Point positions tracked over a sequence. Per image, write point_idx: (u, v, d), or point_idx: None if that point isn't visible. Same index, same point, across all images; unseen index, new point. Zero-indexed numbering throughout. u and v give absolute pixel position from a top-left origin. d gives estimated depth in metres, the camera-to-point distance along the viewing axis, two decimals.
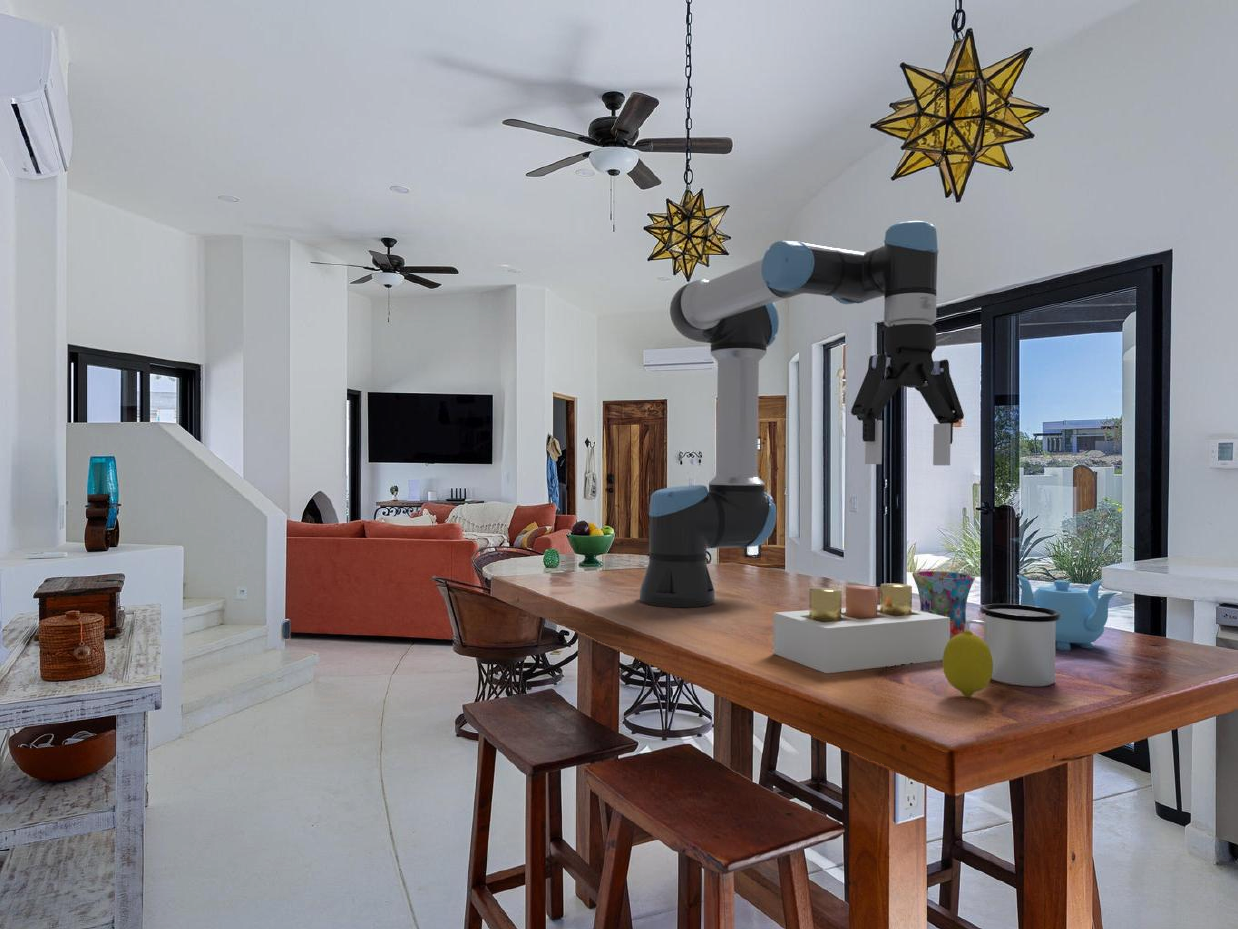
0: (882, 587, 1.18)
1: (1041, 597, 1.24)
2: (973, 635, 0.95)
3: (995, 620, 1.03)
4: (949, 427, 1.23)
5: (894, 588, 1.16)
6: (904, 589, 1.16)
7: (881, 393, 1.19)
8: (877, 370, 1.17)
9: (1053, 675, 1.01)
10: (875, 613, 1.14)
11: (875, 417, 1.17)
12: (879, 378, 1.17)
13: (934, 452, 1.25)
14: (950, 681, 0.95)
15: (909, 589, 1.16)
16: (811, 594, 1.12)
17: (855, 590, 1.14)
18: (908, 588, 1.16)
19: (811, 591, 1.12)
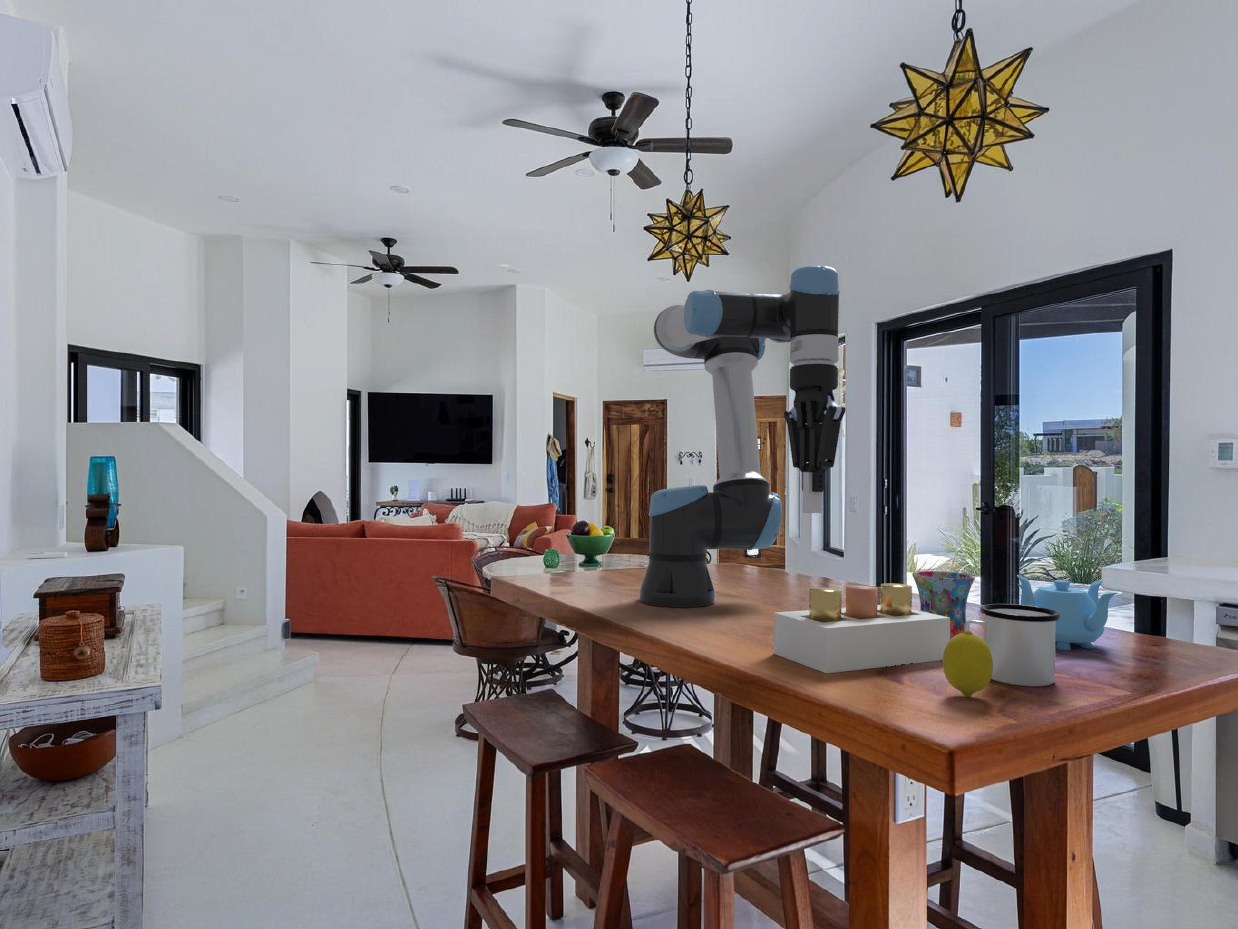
0: (882, 587, 1.18)
1: (1041, 597, 1.24)
2: (973, 635, 0.95)
3: (995, 620, 1.03)
4: (807, 475, 1.25)
5: (894, 588, 1.16)
6: (904, 589, 1.16)
7: None
8: None
9: (1053, 675, 1.01)
10: (875, 613, 1.14)
11: (802, 468, 1.27)
12: (791, 431, 1.30)
13: None
14: (950, 681, 0.95)
15: (909, 589, 1.16)
16: (811, 594, 1.12)
17: (855, 590, 1.14)
18: (908, 588, 1.16)
19: (811, 591, 1.12)
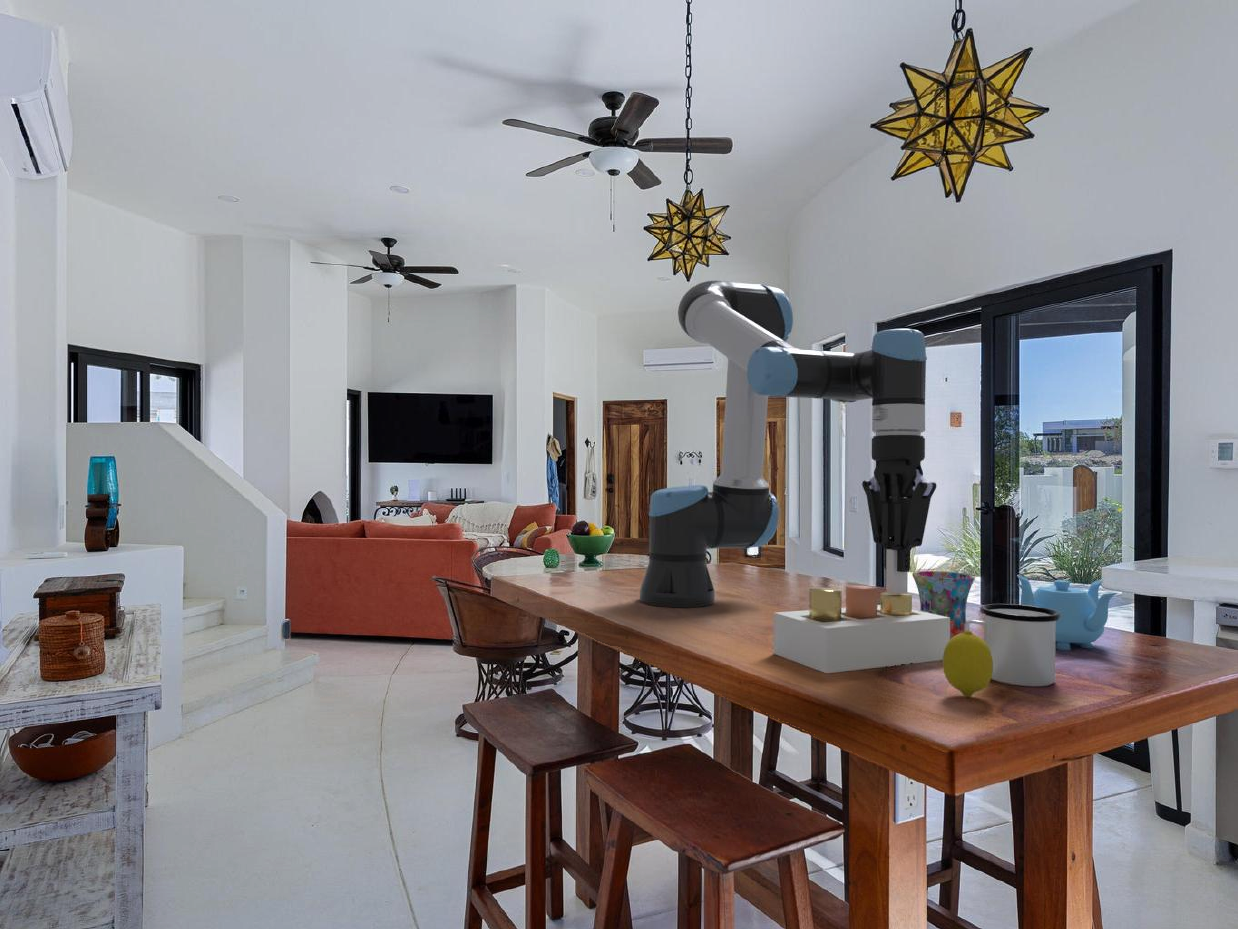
0: (882, 596, 1.17)
1: (1041, 597, 1.24)
2: (973, 635, 0.95)
3: (995, 620, 1.03)
4: (892, 554, 1.17)
5: (894, 597, 1.16)
6: (904, 598, 1.16)
7: None
8: None
9: (1053, 675, 1.01)
10: (875, 613, 1.14)
11: (885, 545, 1.18)
12: (871, 503, 1.21)
13: None
14: (950, 681, 0.95)
15: (909, 598, 1.16)
16: (811, 594, 1.12)
17: (855, 590, 1.14)
18: (908, 597, 1.16)
19: (811, 591, 1.12)
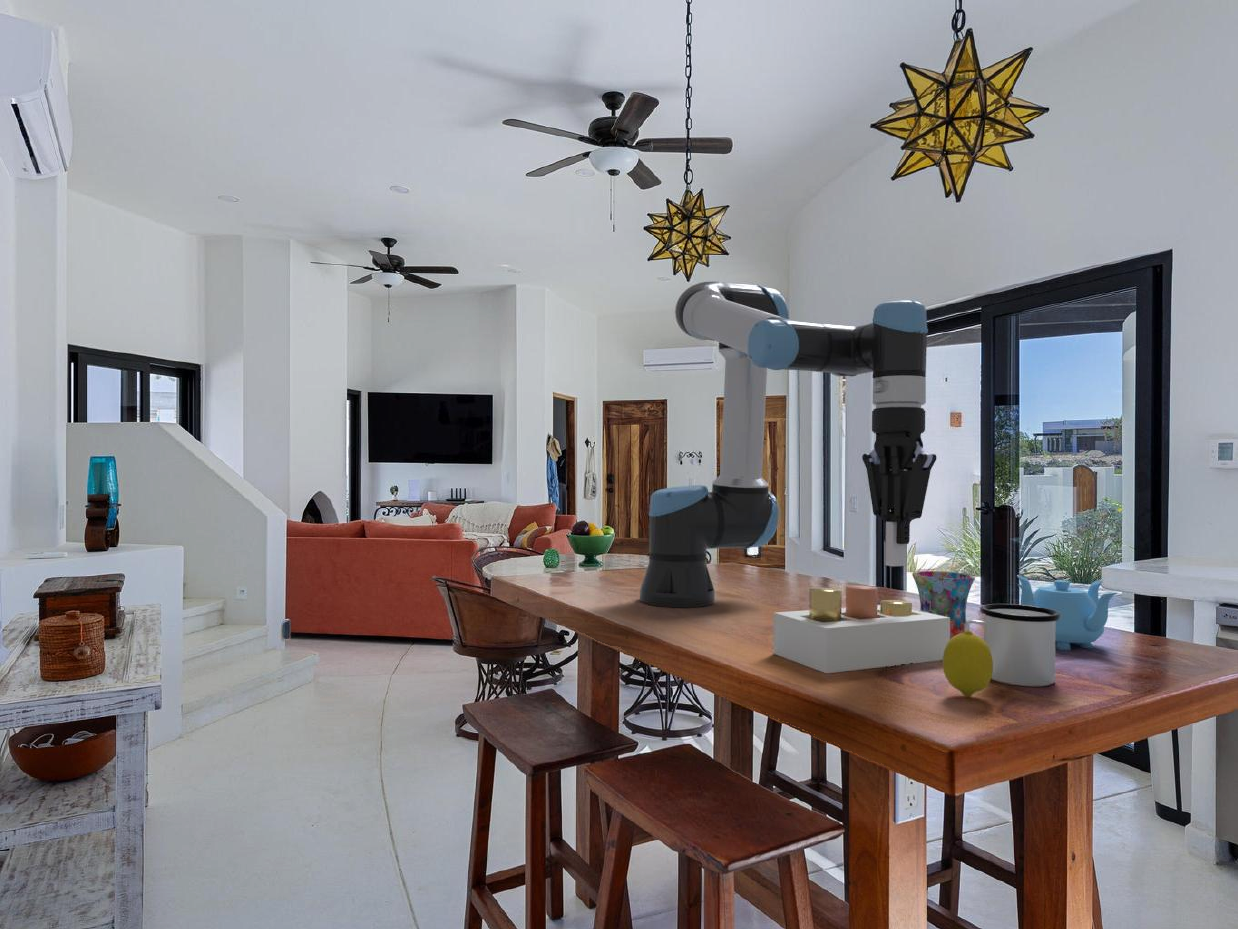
0: (882, 604, 1.17)
1: (1040, 597, 1.24)
2: (973, 635, 0.95)
3: (995, 620, 1.03)
4: (892, 526, 1.17)
5: (894, 605, 1.16)
6: (904, 606, 1.16)
7: None
8: None
9: (1053, 675, 1.01)
10: (875, 613, 1.14)
11: (885, 518, 1.18)
12: (871, 476, 1.21)
13: None
14: (950, 681, 0.95)
15: (909, 606, 1.16)
16: (811, 594, 1.12)
17: (855, 590, 1.14)
18: (908, 605, 1.16)
19: (811, 591, 1.12)
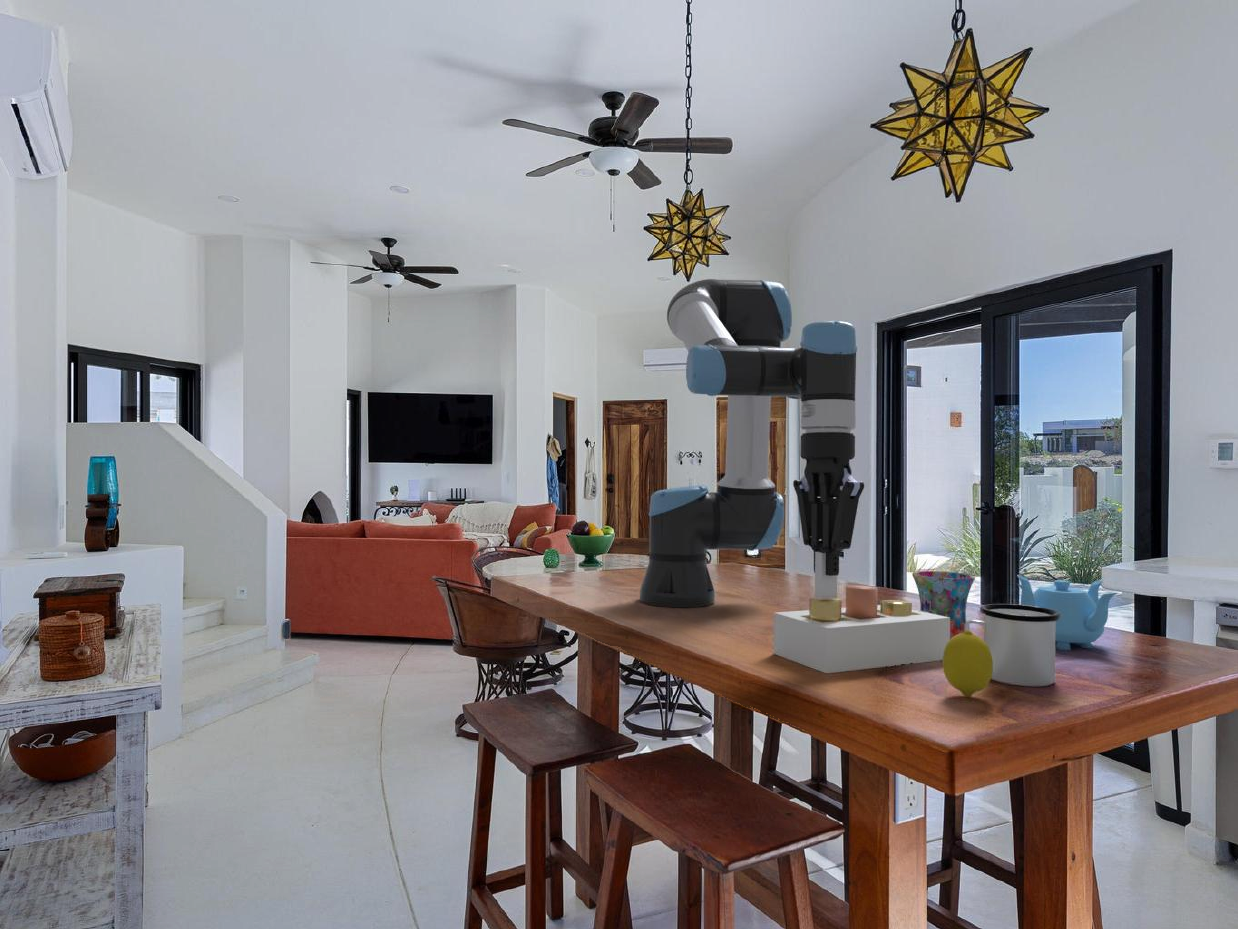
0: (882, 604, 1.17)
1: (1041, 597, 1.24)
2: (973, 635, 0.95)
3: (995, 620, 1.03)
4: (820, 557, 1.11)
5: (894, 605, 1.16)
6: (904, 606, 1.16)
7: None
8: None
9: (1053, 675, 1.01)
10: (875, 613, 1.14)
11: (814, 548, 1.13)
12: (801, 503, 1.16)
13: None
14: (950, 681, 0.95)
15: (909, 606, 1.16)
16: (811, 604, 1.12)
17: (855, 590, 1.14)
18: (908, 605, 1.16)
19: (811, 601, 1.12)
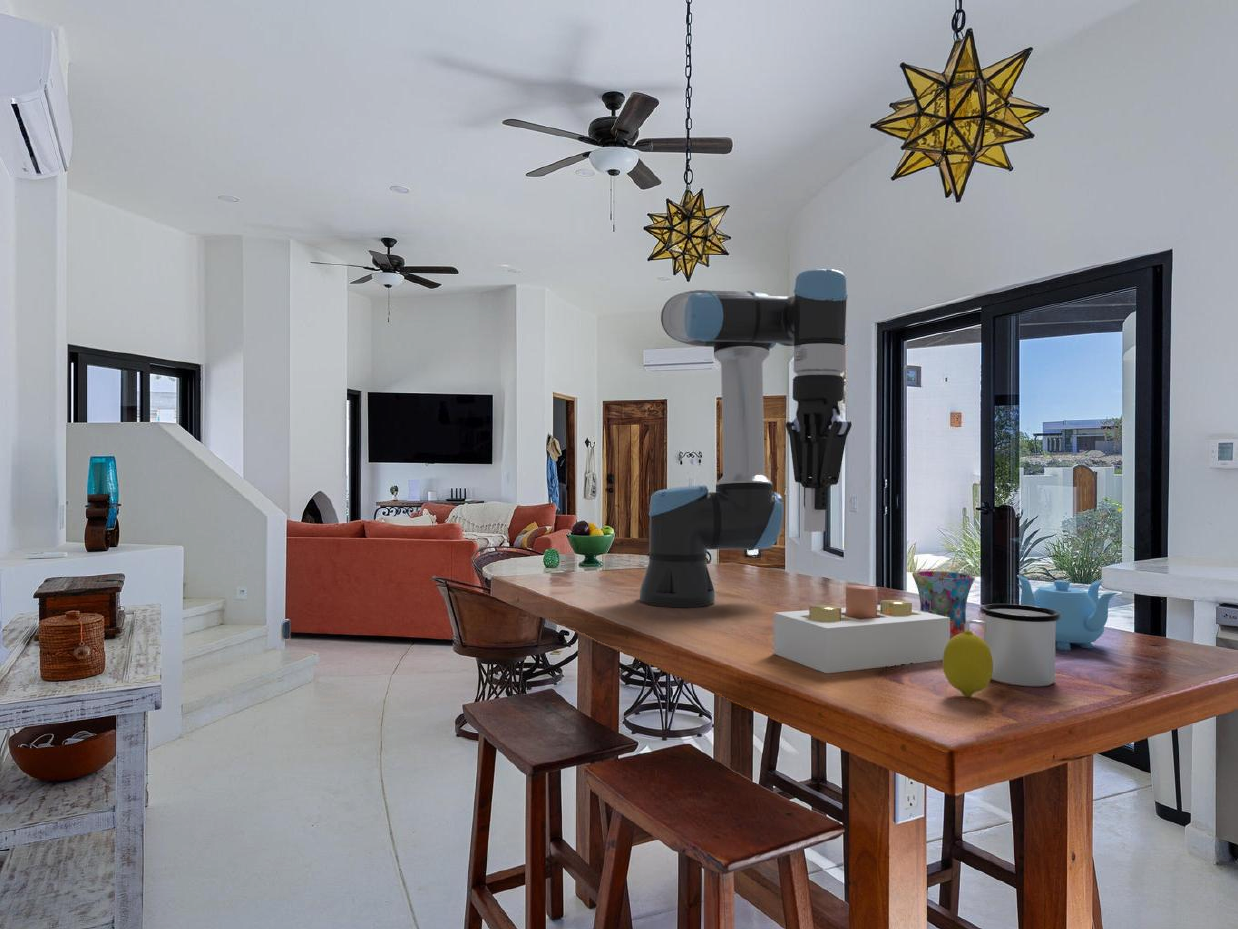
0: (882, 604, 1.17)
1: (1041, 597, 1.24)
2: (973, 635, 0.95)
3: (995, 620, 1.03)
4: (810, 492, 1.19)
5: (894, 605, 1.16)
6: (904, 606, 1.16)
7: None
8: None
9: (1053, 675, 1.01)
10: (875, 613, 1.14)
11: (804, 484, 1.20)
12: (793, 443, 1.23)
13: None
14: (950, 681, 0.95)
15: (909, 606, 1.16)
16: (811, 612, 1.12)
17: (855, 590, 1.14)
18: (908, 605, 1.16)
19: (811, 609, 1.12)
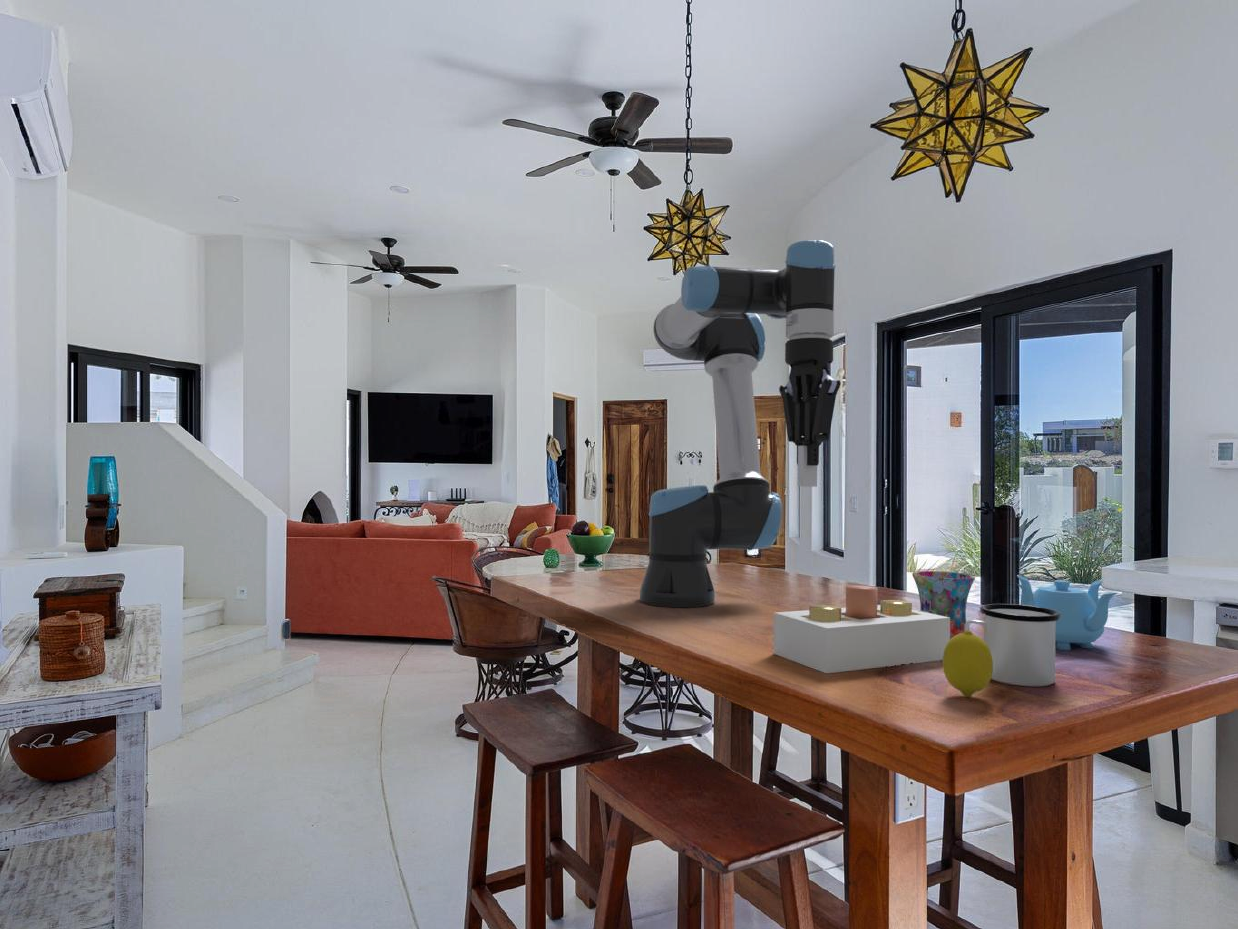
0: (882, 604, 1.17)
1: (1041, 597, 1.24)
2: (973, 635, 0.95)
3: (995, 620, 1.03)
4: (802, 449, 1.26)
5: (894, 605, 1.16)
6: (904, 606, 1.16)
7: None
8: None
9: (1053, 675, 1.01)
10: (875, 613, 1.14)
11: (797, 442, 1.28)
12: (786, 405, 1.31)
13: None
14: (950, 681, 0.95)
15: (909, 606, 1.16)
16: (811, 612, 1.12)
17: (855, 590, 1.14)
18: (908, 605, 1.16)
19: (811, 609, 1.12)
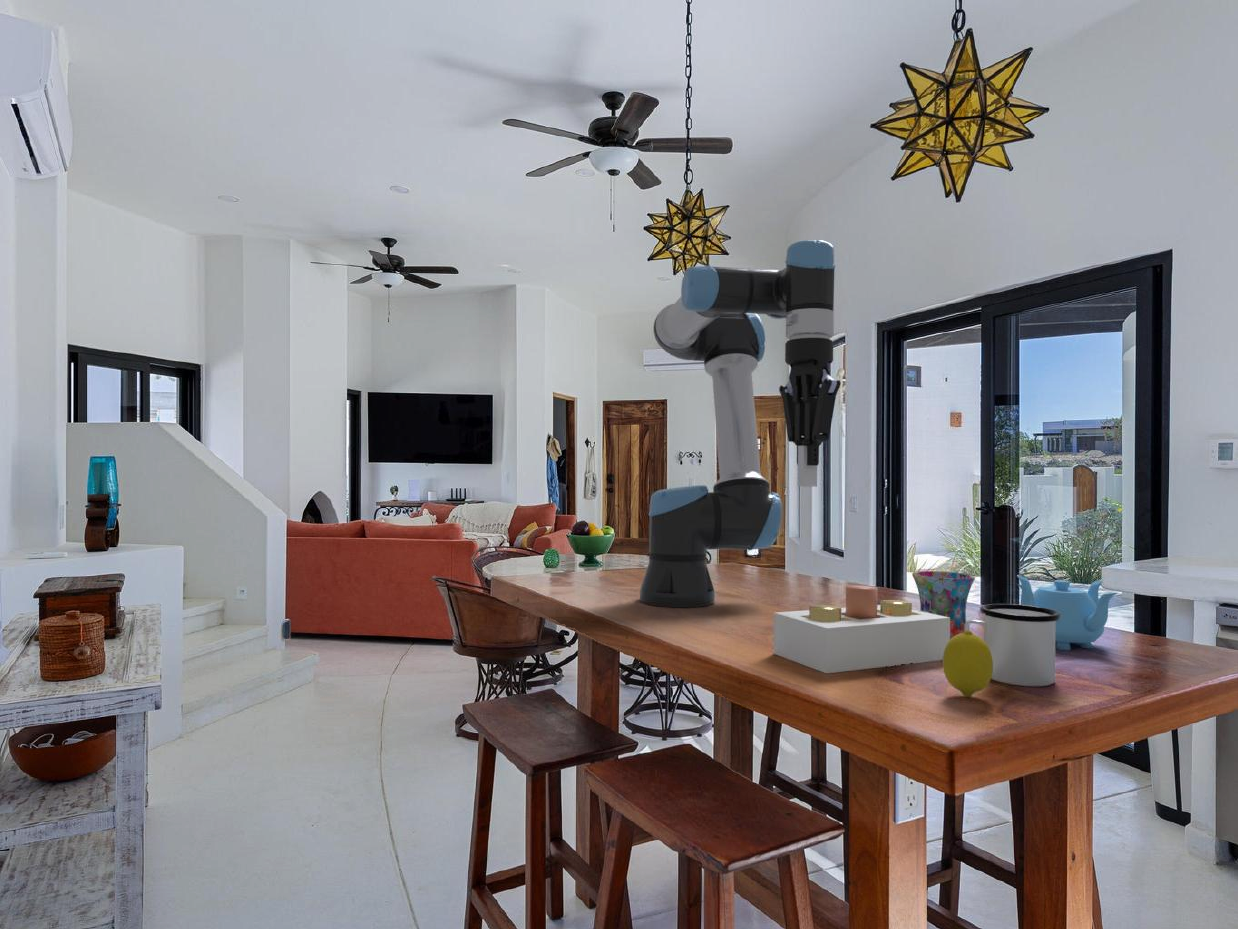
0: (882, 604, 1.17)
1: (1041, 597, 1.24)
2: (973, 635, 0.95)
3: (995, 620, 1.03)
4: (802, 449, 1.26)
5: (894, 605, 1.16)
6: (904, 606, 1.16)
7: None
8: None
9: (1053, 675, 1.01)
10: (875, 613, 1.14)
11: (797, 442, 1.28)
12: (786, 405, 1.31)
13: None
14: (950, 681, 0.95)
15: (909, 606, 1.16)
16: (811, 612, 1.12)
17: (855, 590, 1.14)
18: (908, 605, 1.16)
19: (811, 609, 1.12)
